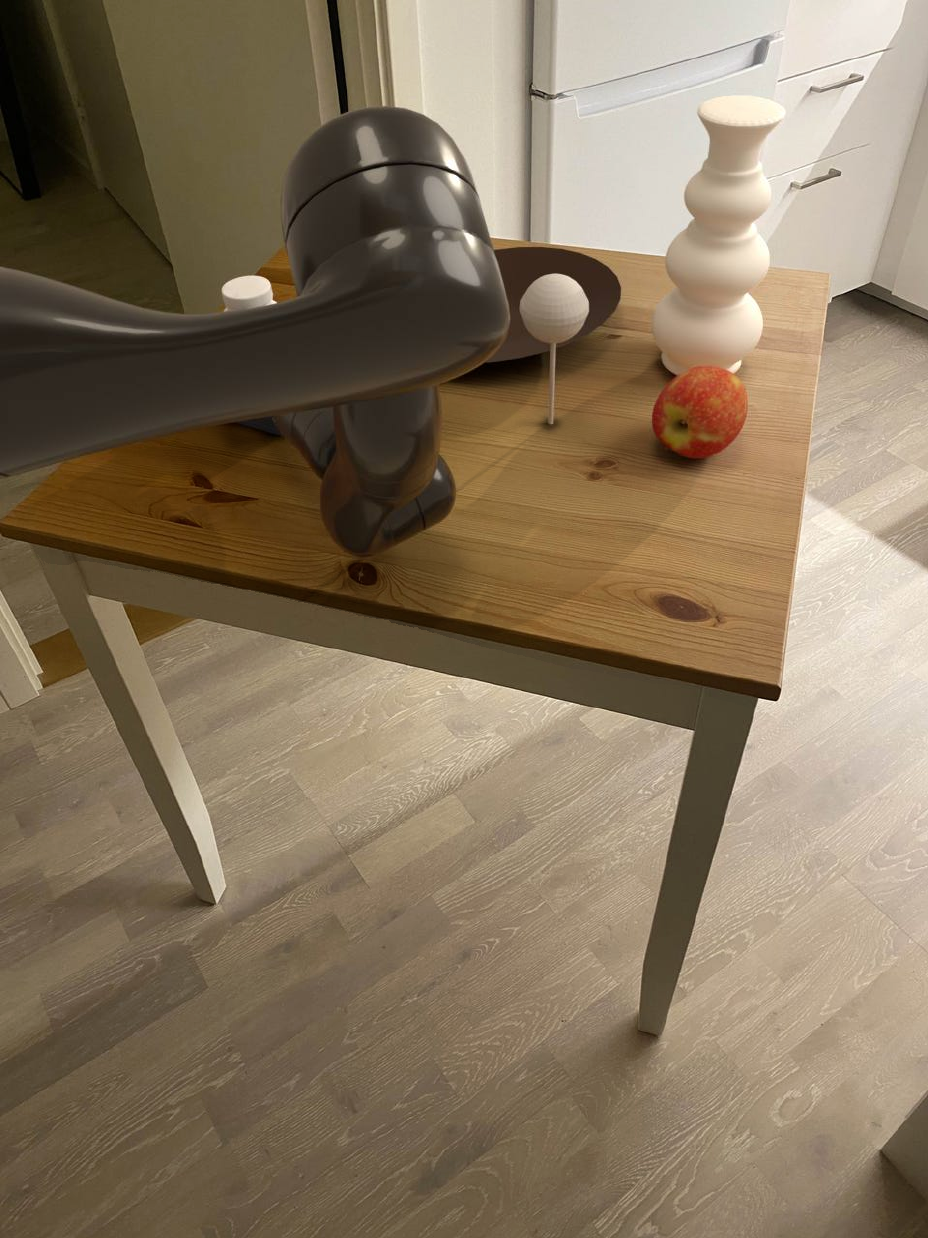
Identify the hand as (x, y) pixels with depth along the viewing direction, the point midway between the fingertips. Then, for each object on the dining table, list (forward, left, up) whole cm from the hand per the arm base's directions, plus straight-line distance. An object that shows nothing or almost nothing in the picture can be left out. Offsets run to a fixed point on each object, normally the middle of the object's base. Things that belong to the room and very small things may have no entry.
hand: (247, 320), depth 94 cm
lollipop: (+6, -31, -7) cm, 32 cm away
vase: (+22, -41, -7) cm, 47 cm away
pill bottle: (-1, -2, -7) cm, 7 cm away
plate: (+22, -17, -7) cm, 28 cm away
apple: (+8, -45, -7) cm, 46 cm away
